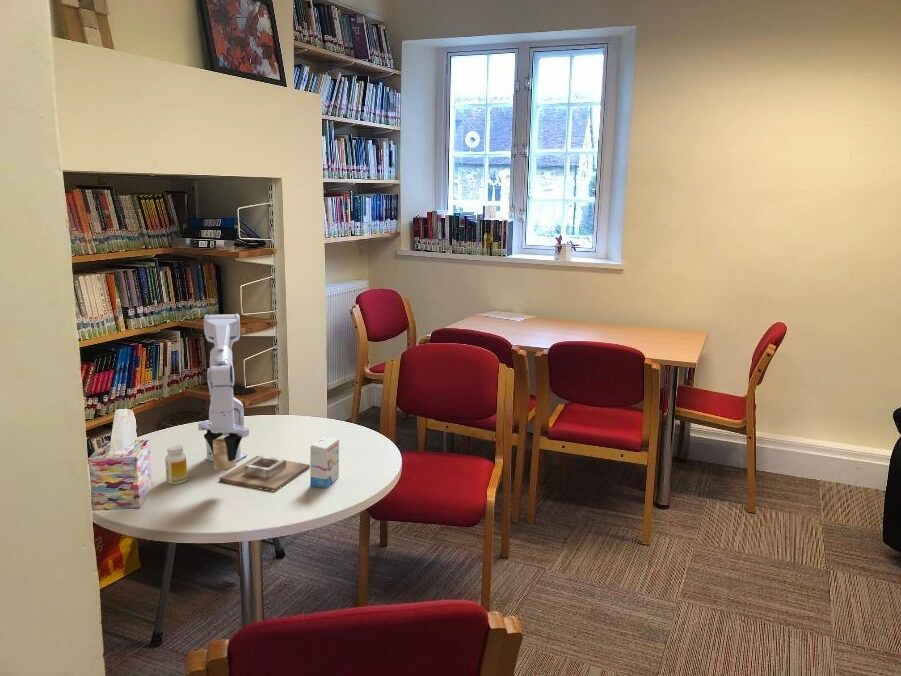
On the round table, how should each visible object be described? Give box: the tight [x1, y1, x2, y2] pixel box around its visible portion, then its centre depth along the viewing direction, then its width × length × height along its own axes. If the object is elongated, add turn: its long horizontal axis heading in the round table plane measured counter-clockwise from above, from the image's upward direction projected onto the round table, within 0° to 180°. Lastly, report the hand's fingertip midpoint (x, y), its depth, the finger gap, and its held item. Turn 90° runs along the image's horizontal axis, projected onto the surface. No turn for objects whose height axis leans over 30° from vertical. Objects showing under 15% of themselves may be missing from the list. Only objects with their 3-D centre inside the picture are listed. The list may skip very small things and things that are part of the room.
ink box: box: [309, 436, 340, 489], centre depth 204 cm, size 9×5×12 cm, turn 163°
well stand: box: [218, 455, 311, 492], centre depth 209 cm, size 18×18×4 cm
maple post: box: [213, 436, 237, 472], centre depth 195 cm, size 4×4×8 cm
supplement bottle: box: [164, 444, 188, 485], centre depth 203 cm, size 5×5×10 cm
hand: (224, 458), depth 195 cm, fingers closed on maple post, 4 cm apart
